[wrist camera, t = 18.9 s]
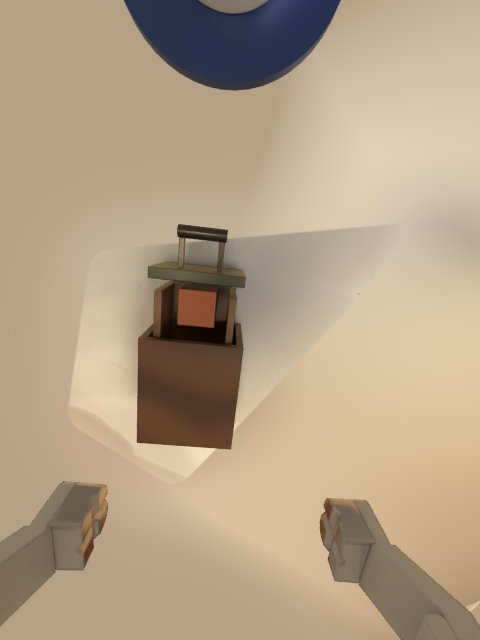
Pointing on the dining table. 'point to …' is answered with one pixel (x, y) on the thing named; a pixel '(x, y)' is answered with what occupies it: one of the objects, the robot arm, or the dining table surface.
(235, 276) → the drawer
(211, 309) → the block
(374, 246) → the dining table surface
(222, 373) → the cabinet
